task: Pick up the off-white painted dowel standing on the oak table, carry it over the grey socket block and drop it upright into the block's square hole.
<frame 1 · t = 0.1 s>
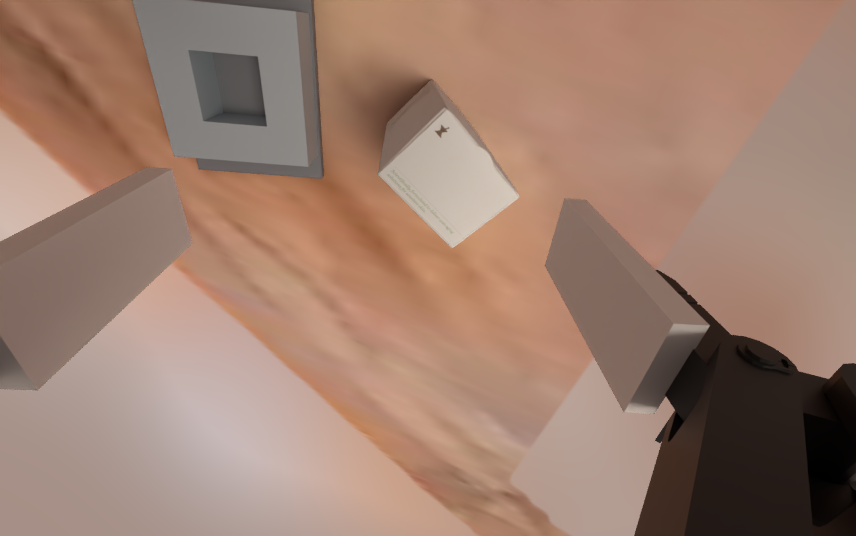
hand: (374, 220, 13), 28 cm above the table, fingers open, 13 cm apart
socket: (251, 83, 36), on the table
skincare box: (437, 131, 39), on the table
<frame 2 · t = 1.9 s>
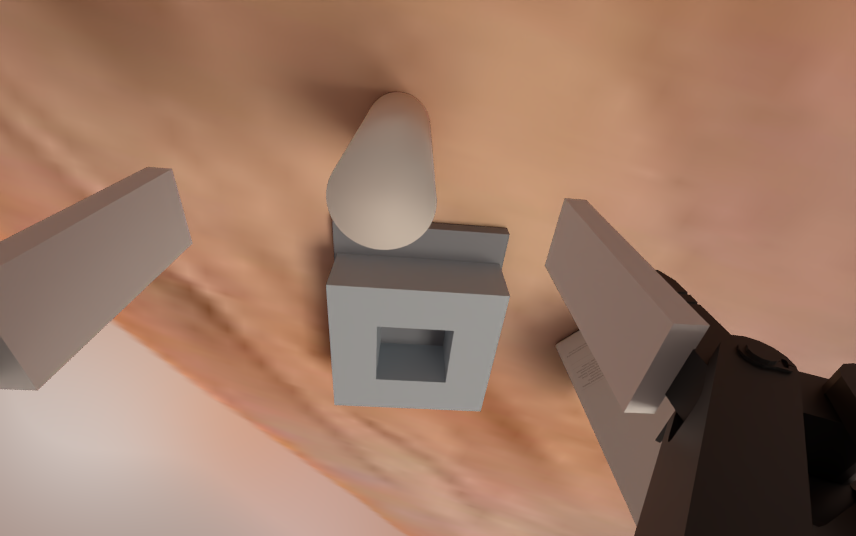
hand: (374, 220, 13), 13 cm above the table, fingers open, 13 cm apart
dowel: (398, 126, 24), on the table
socket: (414, 312, 32), on the table
skincare box: (606, 347, 35), on the table
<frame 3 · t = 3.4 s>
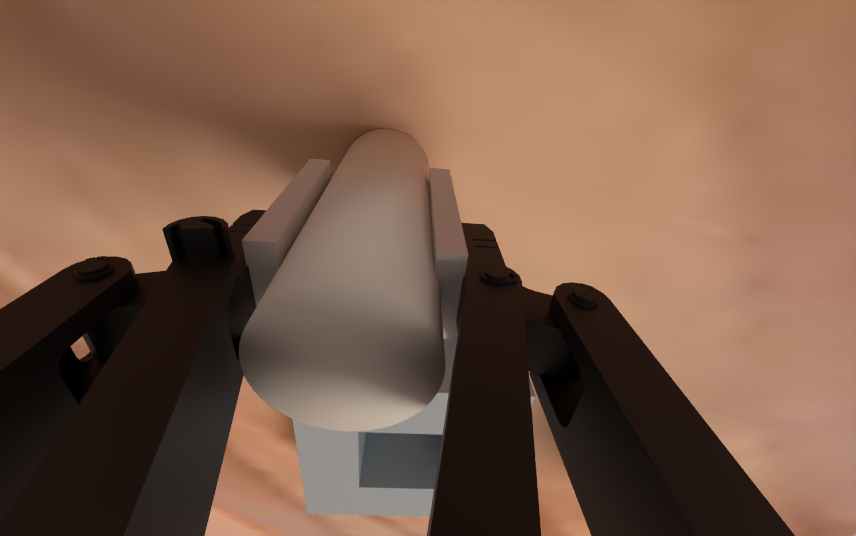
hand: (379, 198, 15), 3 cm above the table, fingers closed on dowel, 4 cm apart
dowel: (386, 173, 18), on the table, touching gripper
socket: (408, 391, 26), on the table
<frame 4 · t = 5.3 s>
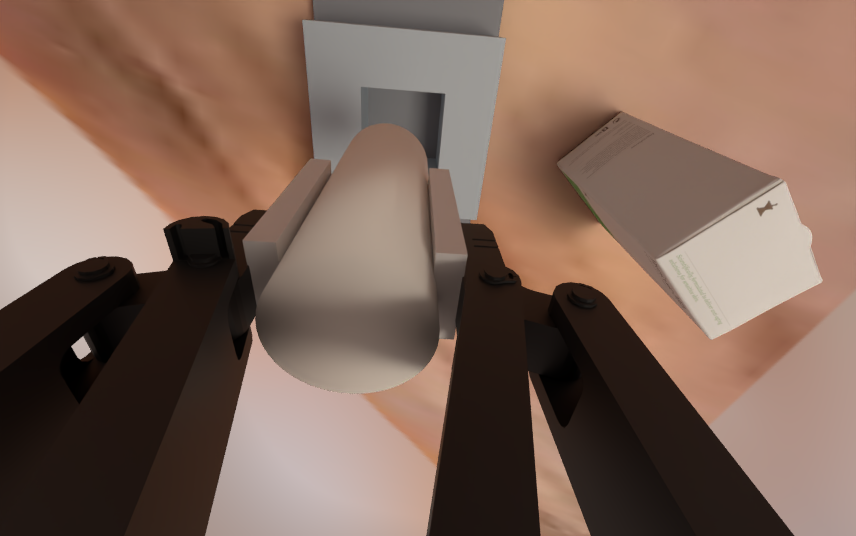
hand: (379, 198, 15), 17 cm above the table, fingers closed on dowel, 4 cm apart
dowel: (386, 166, 19), point 13 cm above the table, touching gripper
socket: (404, 118, 30), on the table
skincare box: (612, 170, 33), on the table
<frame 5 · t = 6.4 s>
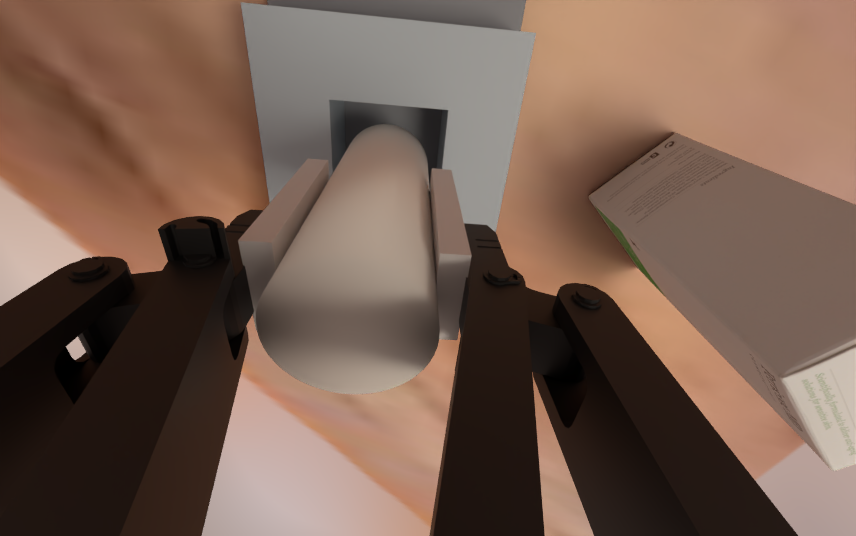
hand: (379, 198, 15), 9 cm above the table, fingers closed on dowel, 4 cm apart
dowel: (386, 166, 19), point 5 cm above the table, touching gripper
socket: (393, 138, 23), on the table
skincare box: (656, 205, 26), on the table
when the fingers open (7 cm above the table, at t = 7.1 s): dowel drops 1 cm, resting on socket.
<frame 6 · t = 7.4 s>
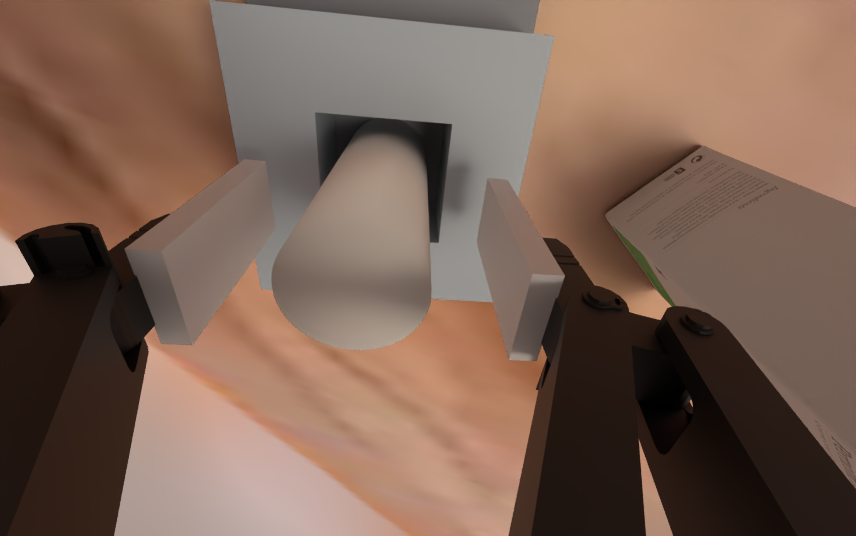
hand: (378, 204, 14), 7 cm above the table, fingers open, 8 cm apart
dowel: (387, 157, 20), point 1 cm above the table, touching socket
socket: (390, 152, 21), on the table
skincare box: (678, 223, 24), on the table
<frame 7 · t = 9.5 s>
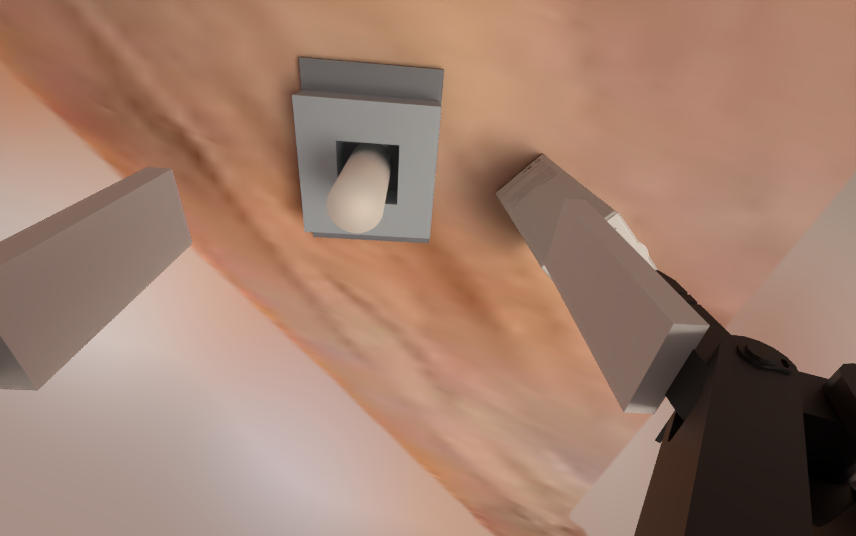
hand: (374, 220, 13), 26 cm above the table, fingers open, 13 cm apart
dowel: (371, 162, 37), point 1 cm above the table, touching socket
socket: (372, 159, 38), on the table
skincare box: (540, 198, 41), on the table
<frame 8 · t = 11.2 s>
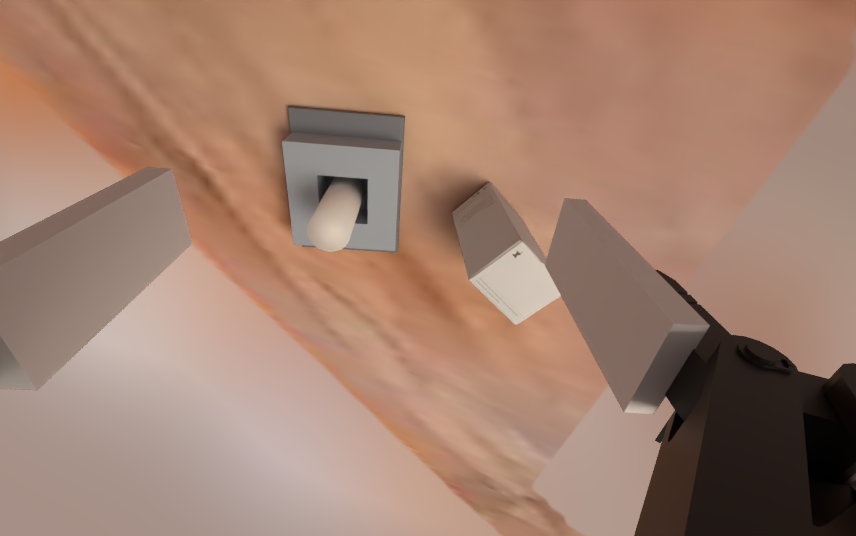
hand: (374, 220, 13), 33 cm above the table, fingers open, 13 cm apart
dowel: (348, 187, 45), point 1 cm above the table, touching socket
socket: (350, 185, 46), on the table
skincare box: (490, 216, 49), on the table
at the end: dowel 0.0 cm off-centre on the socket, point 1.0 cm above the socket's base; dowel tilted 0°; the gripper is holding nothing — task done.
